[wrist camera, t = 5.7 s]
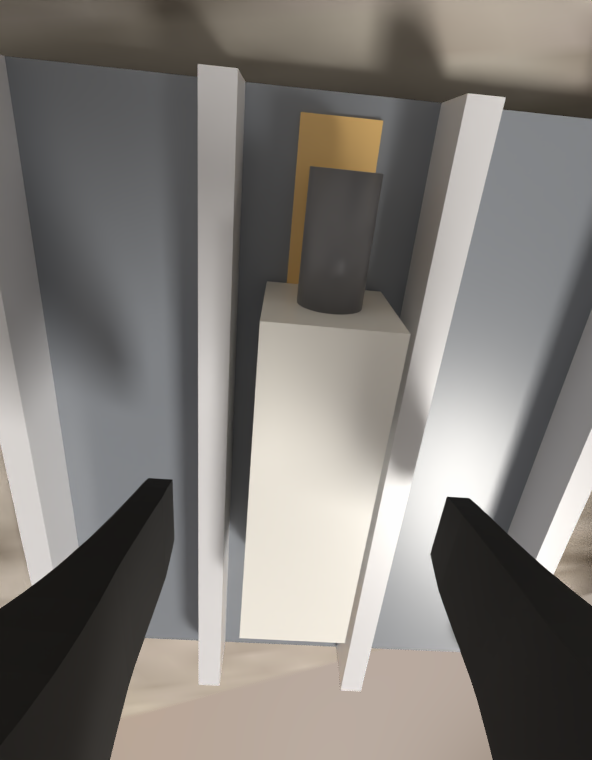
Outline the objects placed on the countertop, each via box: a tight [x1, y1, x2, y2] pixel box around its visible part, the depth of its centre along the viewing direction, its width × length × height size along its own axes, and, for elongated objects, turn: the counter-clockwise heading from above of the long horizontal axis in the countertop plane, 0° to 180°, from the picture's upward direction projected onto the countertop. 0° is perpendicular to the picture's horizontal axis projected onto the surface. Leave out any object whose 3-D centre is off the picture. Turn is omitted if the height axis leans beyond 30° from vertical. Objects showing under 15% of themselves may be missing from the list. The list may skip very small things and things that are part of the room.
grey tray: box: [0, 55, 592, 691], centre depth 15 cm, size 20×18×3 cm
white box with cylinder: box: [239, 166, 411, 643], centre depth 13 cm, size 13×3×4 cm, turn 175°
